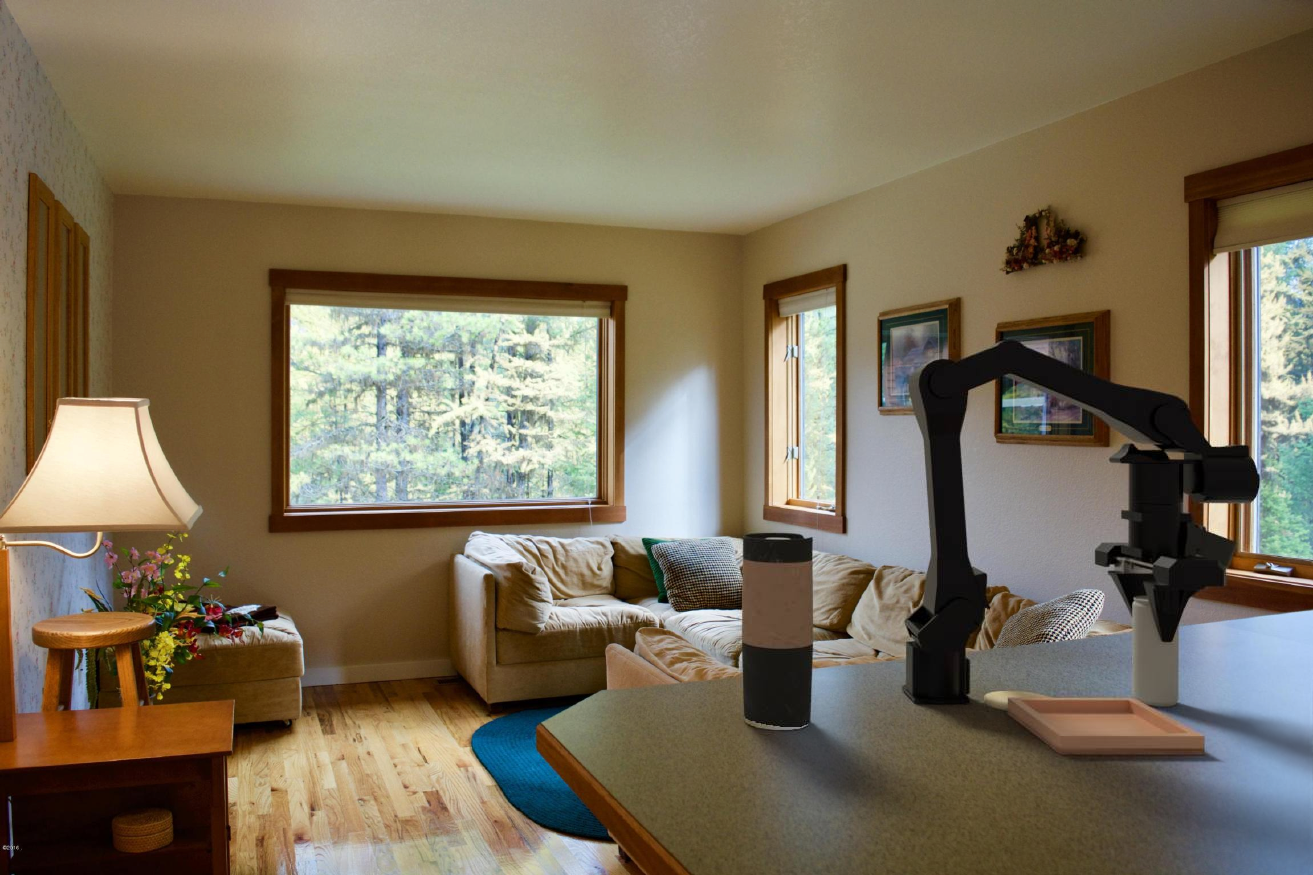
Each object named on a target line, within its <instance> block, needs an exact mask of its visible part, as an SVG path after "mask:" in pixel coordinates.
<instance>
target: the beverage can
mask: <svg viewBox="0 0 1313 875" xmlns="http://www.w3.org/2000/svg"><path fill="white" fill-rule="evenodd" d="M1131 618H1132V619H1131V620H1132V621H1131V622H1132V632H1131V633H1132V634H1131V638H1132V641H1131V644H1132V645H1131V647H1132V649H1131V655H1132V657H1131V658H1132V659H1131V661H1132V662H1131V670H1132V671H1131V674H1132V675H1131V676H1132V677H1131V679H1132V680H1131V683H1132V685H1131V689H1132V690H1131V691H1132V692H1131V695H1132V698H1135V699H1137V700H1138V701H1140V702H1142V703H1144V704H1146V705H1148V706H1150V707H1151V706H1152V707H1159V708H1160V707H1161V708H1162V707H1164V708H1165V707H1173V706H1175V705H1176V704H1177V703H1178V702H1179V696H1180V695H1179V692H1180V691H1179V689H1180V688H1179V687H1180V686H1179V681H1180V680H1179V677H1180V676H1179V674H1180V672H1179V671H1180V669H1179V668H1180V665H1179V662H1180V661H1179V660H1180V659H1179V657H1180V656H1179V653H1180V652H1179V651H1180V650H1179V649H1180V648H1179V647H1180V646H1179V645H1180V644H1179V643H1180V642H1179V640H1180V638H1179V637H1180V634H1179V633H1180V626H1179V625H1180V624H1179V625H1178V628H1177V630H1176V633H1175V636H1174V638H1173V641H1172V642H1162V641H1161V638H1160V636H1159V633H1158V630H1157V627H1156V624H1155V620H1154V617H1153V613H1152V610H1151V607H1150V603H1149V600H1148V597H1147V596H1136V597H1134V602H1133V604H1132V617H1131Z"/></svg>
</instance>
